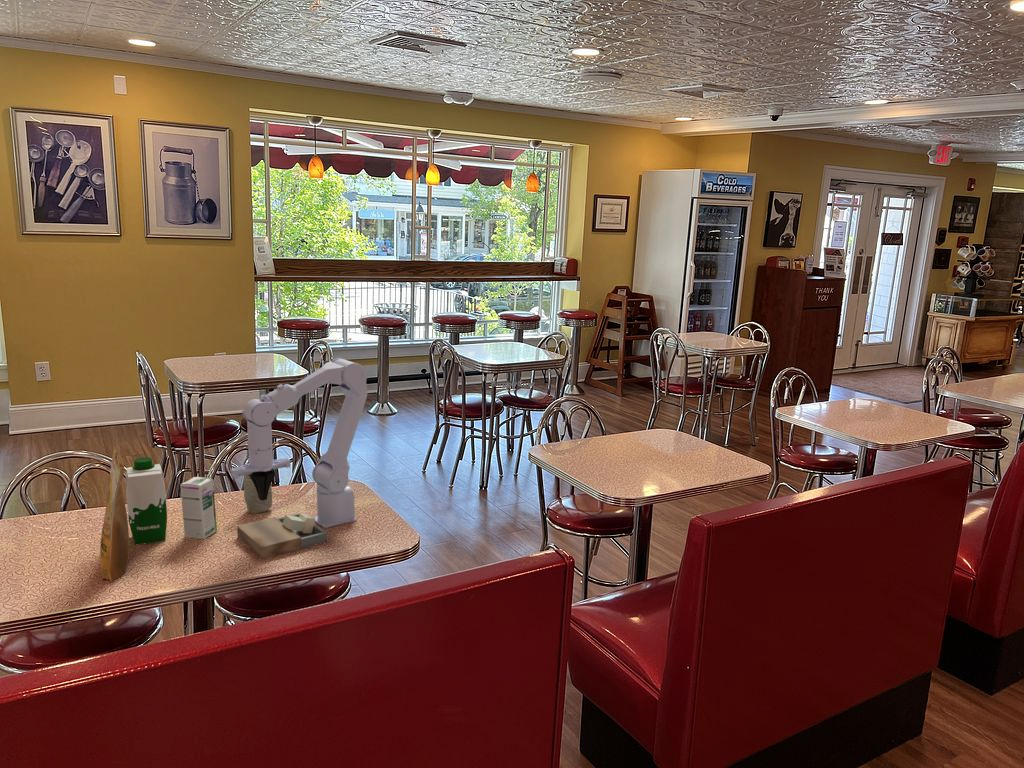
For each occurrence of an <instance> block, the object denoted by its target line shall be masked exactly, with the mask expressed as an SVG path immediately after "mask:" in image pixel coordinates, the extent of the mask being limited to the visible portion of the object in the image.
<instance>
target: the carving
mask: <svg viewBox="0 0 1024 768" xmlns="http://www.w3.org/2000/svg"><path fill="white" fill-rule="evenodd" d="M243 477H244V478H243V499H244V502H245V505H246V506H245V507H246V509H247V511H248V512H249V513H250V514H260V513H264V512H266V511H268V510H270V509H271V508H272V506H273V503H274V502H273V488H272V484H271V485H270V488H269V491H268V496H267V500H263V501H261V500H260V499H259V497H258V493H257V490H256V488H255V485H254V483H253V481H252V480H251V478H250V476H249V475H244V476H243Z"/></svg>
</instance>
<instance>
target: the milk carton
mask: <svg viewBox="0 0 1024 768" xmlns="http://www.w3.org/2000/svg"><path fill="white" fill-rule="evenodd" d="M133 462H134V463H133V464H134V466H130V467H126V472H125V473H126V474H125V481H126V484H125V488H126V489H125V490H126V509H127V519H128V526H129V528H130V533H131V536H132V540H133V543H134V546H137V545H136V544H140V545H145V544H144V543H146V544H152V543H159V542H165V541H166V539H167V538H166V537H167V525H168V509H167V496H166V486H165V485H166V484H165V483H166V481H165V477H164V476H165V475H163V474H164V473H163V469H162V466H161V463H156V464H155V463H153V458H152V457H139V458H136V459H134V460H133Z"/></svg>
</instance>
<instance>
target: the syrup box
mask: <svg viewBox="0 0 1024 768" xmlns="http://www.w3.org/2000/svg"><path fill="white" fill-rule="evenodd" d="M180 496H181V508H182V509H181V510H182V519H183V530H184V531H183V532H184V533H183V535H184V538H190V539H196V540H197V539H198V540H205V539H207V538H209V537H210V536H212V535H213V534H214V533H215V532H217V531H218V527H217V516H216V515H217V514H216V512H217V511H216V502H215V485H214V479H213V478H211V477H204V476H202V477H201V476H193V477H191V478H190V479H188V480H187V481H184V482H182V483H180Z"/></svg>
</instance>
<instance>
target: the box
mask: <svg viewBox="0 0 1024 768" xmlns="http://www.w3.org/2000/svg"><path fill="white" fill-rule="evenodd" d="M300 513H301V512H299V513H296V514H295V513H294V514H290V515H289V516H296V517H299V515H300ZM284 517H285V516H283V517H278V518H277V517H276V518H277V519H278V520H279V521H281V522H282V523H283V520H284ZM292 531H293V532H295V533H296V534H297V535H299V536H300V537H301V548H302V549H305V548H309V546H310V547H312V546H313V545H314V546H317V545H321V544H325V543H328V532H327V531H326V530H325V529H324V528H322V527H320V525H319V526H318V525H317V523H316V522H315V523H314V527H313V531H312V533H302V532H301V531H297V530H292ZM324 542H325V543H324ZM320 543H321V544H320Z"/></svg>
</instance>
